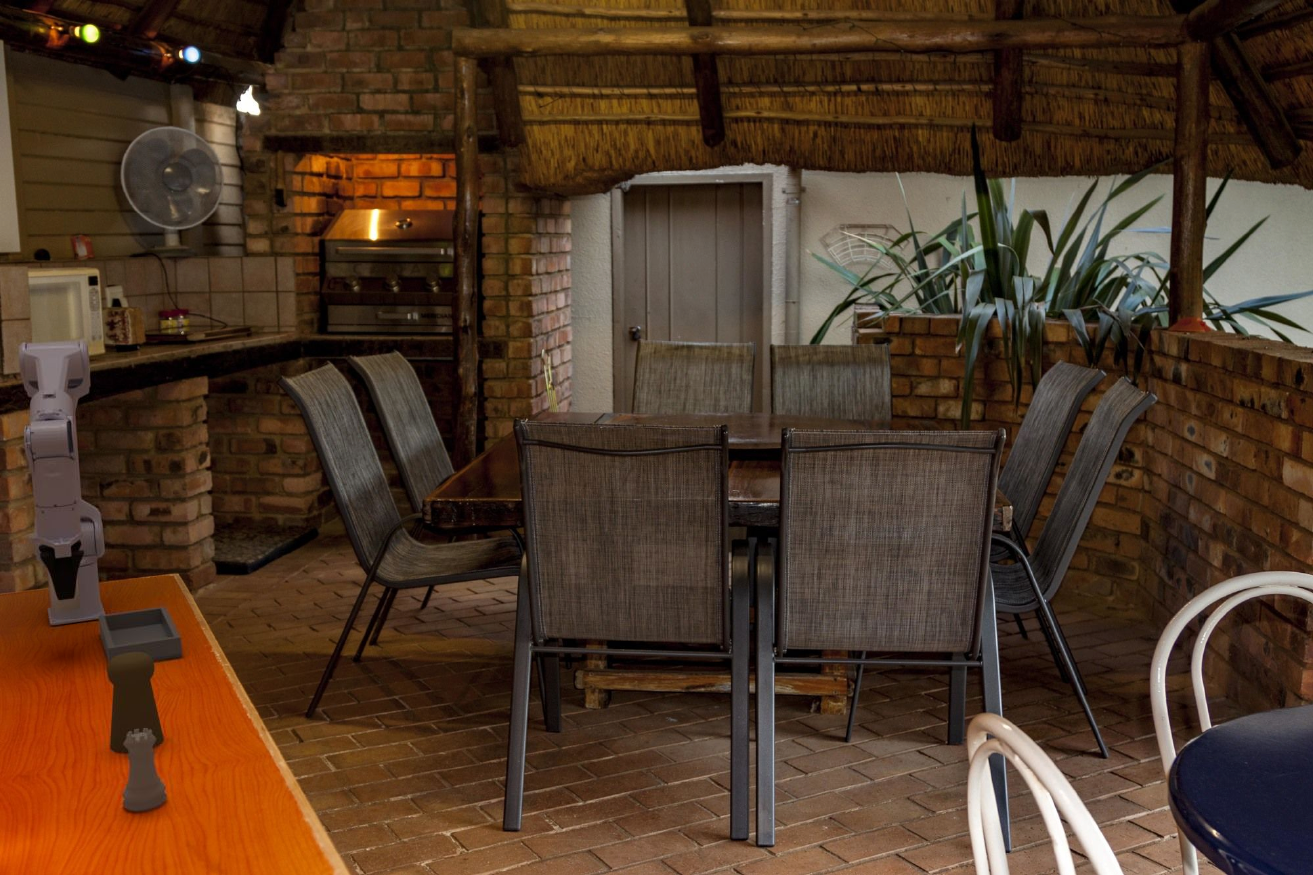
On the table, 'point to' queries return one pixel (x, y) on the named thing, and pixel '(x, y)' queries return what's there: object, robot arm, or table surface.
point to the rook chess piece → (142, 774)
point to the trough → (140, 634)
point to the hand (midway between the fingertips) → (65, 595)
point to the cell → (64, 604)
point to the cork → (132, 699)
